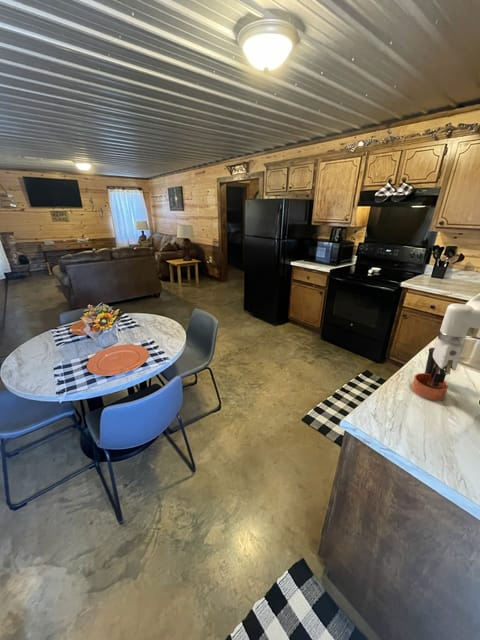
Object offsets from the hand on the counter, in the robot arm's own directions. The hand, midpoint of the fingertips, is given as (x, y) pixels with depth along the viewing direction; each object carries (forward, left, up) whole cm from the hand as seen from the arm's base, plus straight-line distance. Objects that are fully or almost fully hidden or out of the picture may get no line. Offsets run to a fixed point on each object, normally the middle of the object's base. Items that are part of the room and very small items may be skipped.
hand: (436, 379), depth 102 cm
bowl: (+1, -1, -7) cm, 7 cm away
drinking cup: (-2, -10, -7) cm, 13 cm away
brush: (0, 0, -6) cm, 6 cm away
